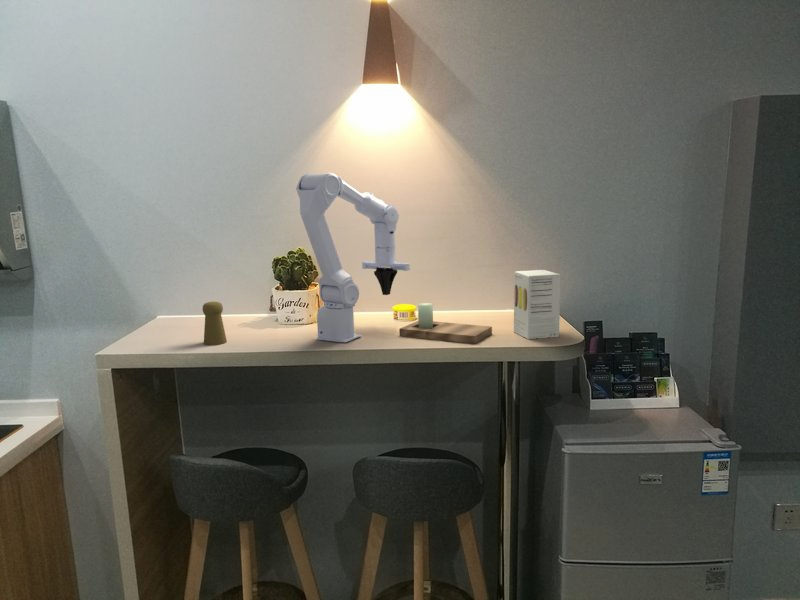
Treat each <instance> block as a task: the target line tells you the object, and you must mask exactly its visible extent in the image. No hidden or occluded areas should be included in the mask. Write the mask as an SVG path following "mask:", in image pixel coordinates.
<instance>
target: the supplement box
mask: <svg viewBox="0 0 800 600" xmlns="http://www.w3.org/2000/svg"><path fill="white" fill-rule="evenodd" d="M513 273H514V281H513V282H514V284H513V286H514V287H513V288H514V290H513V292H514V294H513V295H514V296H513V333H516V334H517V335H519V336H521V337H522V338H524V337H525V339H526V338H527V340H534V339H536V338H538V339H546V338H547V339H548V337H550V338H558V337H560V319H561V317H560V316H561V315H560V314H561V313H560V311H561V309H560V308H561V303H560V302H561V280H562V279H561V278H562V276H561V273H556V272H553V271H550V270H547V269H533V270H518V271H514V272H513Z"/></svg>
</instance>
